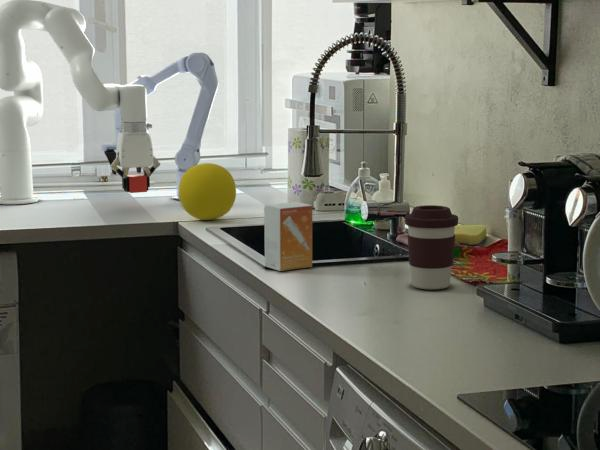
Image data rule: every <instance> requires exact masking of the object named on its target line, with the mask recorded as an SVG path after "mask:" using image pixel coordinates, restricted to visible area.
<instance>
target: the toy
mask: <svg viewBox="0 0 600 450" xmlns="http://www.w3.org/2000/svg"><path fill="white" fill-rule="evenodd" d="M236 197H237V187H236V182H235V180H234V177H233V175H232V174H231V173H230V171H228V169H226V168H225V167H224V166H222V165H219V164H218V163H211V162H203V163H198V164H197V165H195V166H193V167H191V168H190V169H188V170H187V171H186V172H185V173H184V175H183V176H182V178H181V181H180V184H179V198H180V200H179V202H180V204H181V206H182V208H183V209H184V211H185V212H186V213H187V214H188V215H190V216H191V217H193V218H195V219H197V220H203V221H210V220H211V221H212V220H216V219H217V220H218V219H219V218H222V217H224V216H225V215H227V214H228V213H229V212H230V211H231V209H232V208H233V206H234V204H235V201H236Z"/></svg>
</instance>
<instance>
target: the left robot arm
mask: <svg viewBox="0 0 600 450" xmlns="http://www.w3.org/2000/svg"><path fill="white" fill-rule="evenodd" d="M86 25H87V22H86V19H85V17H84V15H83V13H81V12H80V11H79V10H77V9H75V8H72V7H66V6H62V5H59V4H54V3H50V2H46V1H41V0H9V1H7V2H4V3H3V4H2V5H0V89H1V90H2V91H5V92H13V95H8V96H5V97H2V98H0V205H25V204H26V205H27V204H33V203H38V202H39V201H40V197H39V196H38V195H34V181H33V162H32V144H31V138H30V135H29V131H28V129H27V127H31V126H32V127H33V126H35V125H37V124H38V123H39V122H40V121H41V119H42V117H43V115H44V91H43V89H44V88H43V76H42V72H41V69H40V67H39V65H38V64H37V63H36V62H34V61H33V60H32V59H28V58H26V54H25V53H26V49H25V41H24V37H23V36H22V32H21V31H22V30H31V31H33V30H34V31H43V32H47V33H48V34H49V36H50V37H51V39H52V40H53V42H54V44H55V45H56V47H57V48H58V49H59V51H60V52H61V54H62V55H63V57H64V58H65V60H66V61H67V64H69V72H70V75H71V78H72V82H73V84H74V87H75V88H76V90H77V92H78V93H79V94H80V96H81V98H82V99H83V100H84V102H85V103H86V104H87V106H88V107H89V108H91V109H92V110H94V111H96V112H107V111H115V110H116V109H120V111H121V133H118V138H117V150H115V152H116V159H115V160H114V161H113V163H112V164H111V165H110V164H109V168H110V169H111V168H112V169H113V170H114V171H116V172H117V175H118V176H120V178H121V188H122V189H123V191H124V192H126V193H129V178H128V176H127V175H129V172H130V169H136V167H142V168H141V170H142V172H143V175H145V176H147V192H148V191H149V188H150V187H151V183H150V179H151V178H150V177H151V176H152V175H153V173H154V172H155V171H156V169H158V168H159V167H160V166H161V163H160V161H159V160H158V159H157V157H155V156H154V149H153V148H154V147H153V141H152V137H151V133H150V132H149V129H152V128H153V123H150V122H149V121H148V105H147V101H148V99H147V97H148V96H146V88H145V87H144V86H142V85H125V84H118V83H103V82H102V80H101V78H100V77H99V76H98V74H97V73H96V71H95V68H94V66H93V58H94V55H95V47H94V46H93V44H92V43H91V41H90V40H89V38H88V37H87V35H86V33H84V32H85V30H86V27H87V26H86ZM119 167H121V168H119ZM112 169H111V170H112Z"/></svg>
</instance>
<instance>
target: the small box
mask: <svg viewBox="0 0 600 450" xmlns="http://www.w3.org/2000/svg"><path fill="white" fill-rule="evenodd" d="M263 207H264V208H263V209H264V210H263V215H264V216H263V217H264V220H263V221H264V225H263V226H264V227H263V228H264V267H265V268H268V269H272V270H275V271H279V272H282V271H289V270H297V269H306V268H312V267H313V205H312V204H308V203H304V202H300V201H293V202H281V203H274V204H264V206H263Z"/></svg>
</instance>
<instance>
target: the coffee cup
mask: <svg viewBox="0 0 600 450" xmlns="http://www.w3.org/2000/svg"><path fill="white" fill-rule="evenodd" d="M404 225H406V226H407V227H408V228H407V230H408V233H407V251H408V253H407V254H408V264H409V265H410V267H409V268H410V282H411V286H413V287H414V288H416V289H421V290H431V291H432V290H442V289H443V290H444V289H446V288H448V287H450V285H451V279H452V266H453V265H454V255H455V244H456V243H455V242H456V235H455V229H456V228H455V227H456V226H458V225H459V216H458V215H456V214H453V213H452V211H451V208H450V207H448V206H444V205H437V204H436V205H434V204H433V205H431V204H429V205H426V204H425V205H418V206H414V207H413V208H412V210H411V213H408V214H406V215H405V216H404Z"/></svg>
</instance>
